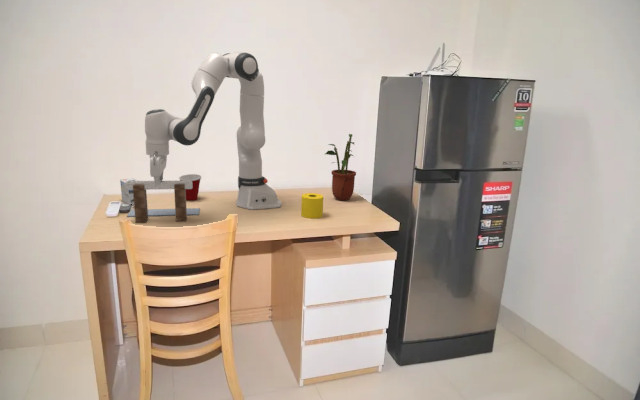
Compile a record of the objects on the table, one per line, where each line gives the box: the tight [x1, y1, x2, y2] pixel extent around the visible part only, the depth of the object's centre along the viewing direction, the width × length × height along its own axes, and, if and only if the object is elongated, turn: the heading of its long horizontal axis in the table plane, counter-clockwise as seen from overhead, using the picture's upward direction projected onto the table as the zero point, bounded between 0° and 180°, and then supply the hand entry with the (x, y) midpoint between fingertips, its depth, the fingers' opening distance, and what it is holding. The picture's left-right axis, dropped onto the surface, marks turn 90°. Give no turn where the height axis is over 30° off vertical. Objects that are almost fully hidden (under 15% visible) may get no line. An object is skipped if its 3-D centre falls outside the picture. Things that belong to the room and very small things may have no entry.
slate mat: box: [126, 207, 201, 218], centre depth 189 cm, size 30×9×1 cm, turn 103°
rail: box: [125, 180, 193, 191], centre depth 175 cm, size 26×3×3 cm, turn 103°
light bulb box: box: [119, 177, 139, 206], centre depth 201 cm, size 11×7×11 cm, turn 44°
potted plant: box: [324, 133, 357, 201], centre depth 219 cm, size 17×16×35 cm
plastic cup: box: [178, 173, 202, 202], centre depth 210 cm, size 11×11×12 cm
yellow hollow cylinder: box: [300, 192, 324, 220], centre depth 194 cm, size 10×10×9 cm
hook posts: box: [133, 185, 188, 224], centre depth 177 cm, size 20×6×16 cm, turn 103°
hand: (159, 182), depth 175 cm, fingers open, 8 cm apart
